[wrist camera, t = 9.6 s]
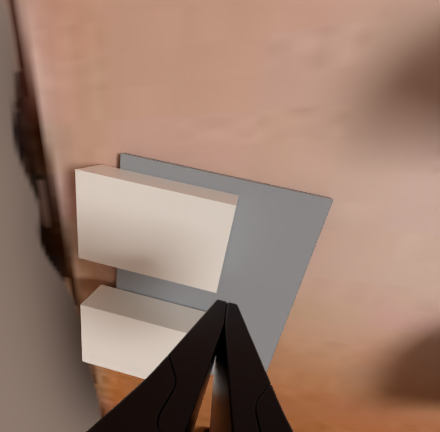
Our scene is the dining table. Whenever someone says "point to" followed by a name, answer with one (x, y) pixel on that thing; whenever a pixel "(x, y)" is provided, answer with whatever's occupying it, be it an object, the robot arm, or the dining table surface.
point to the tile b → (153, 225)
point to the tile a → (131, 330)
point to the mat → (245, 250)
